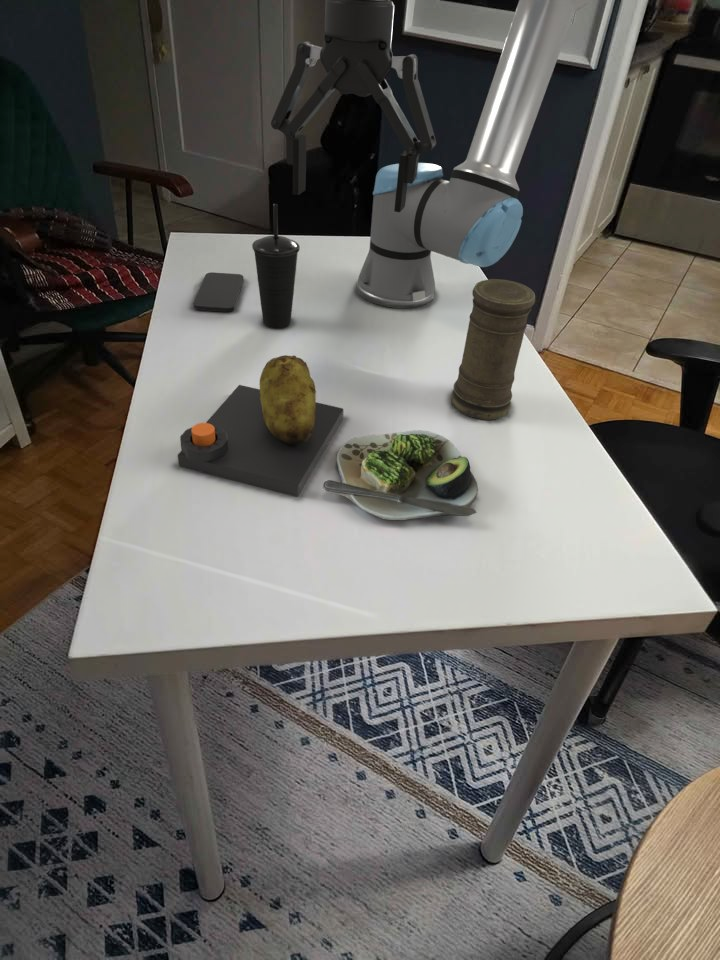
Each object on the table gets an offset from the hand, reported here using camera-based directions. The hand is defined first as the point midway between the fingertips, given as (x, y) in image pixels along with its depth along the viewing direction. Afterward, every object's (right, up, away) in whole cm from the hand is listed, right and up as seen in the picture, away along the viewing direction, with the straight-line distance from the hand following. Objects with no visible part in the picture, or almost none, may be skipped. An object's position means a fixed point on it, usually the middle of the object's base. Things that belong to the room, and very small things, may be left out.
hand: (348, 200), depth 83 cm
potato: (-8, -28, +4) cm, 30 cm away
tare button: (-18, -31, -2) cm, 36 cm away
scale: (-11, -31, +3) cm, 33 cm away
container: (+20, -25, +15) cm, 35 cm away
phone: (-25, -1, +38) cm, 45 cm away
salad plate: (+8, -36, -1) cm, 37 cm away
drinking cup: (-13, -8, +30) cm, 34 cm away
